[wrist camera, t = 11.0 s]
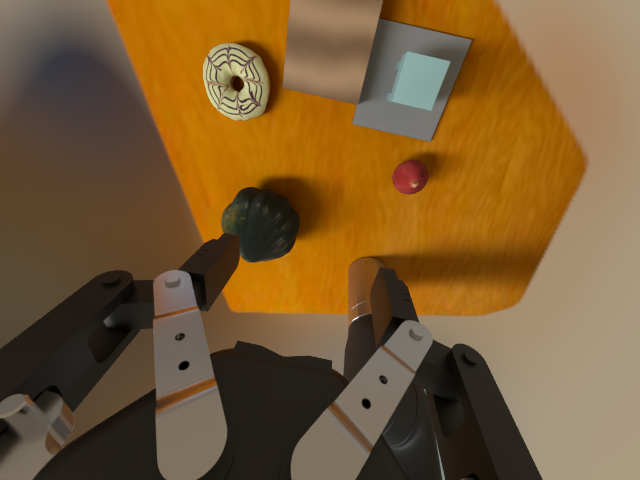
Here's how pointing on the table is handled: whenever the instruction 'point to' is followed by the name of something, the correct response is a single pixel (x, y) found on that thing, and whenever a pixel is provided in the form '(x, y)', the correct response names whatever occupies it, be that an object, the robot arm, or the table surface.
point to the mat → (381, 75)
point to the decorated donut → (221, 74)
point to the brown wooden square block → (330, 46)
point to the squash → (261, 224)
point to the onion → (410, 177)
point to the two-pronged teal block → (418, 80)
